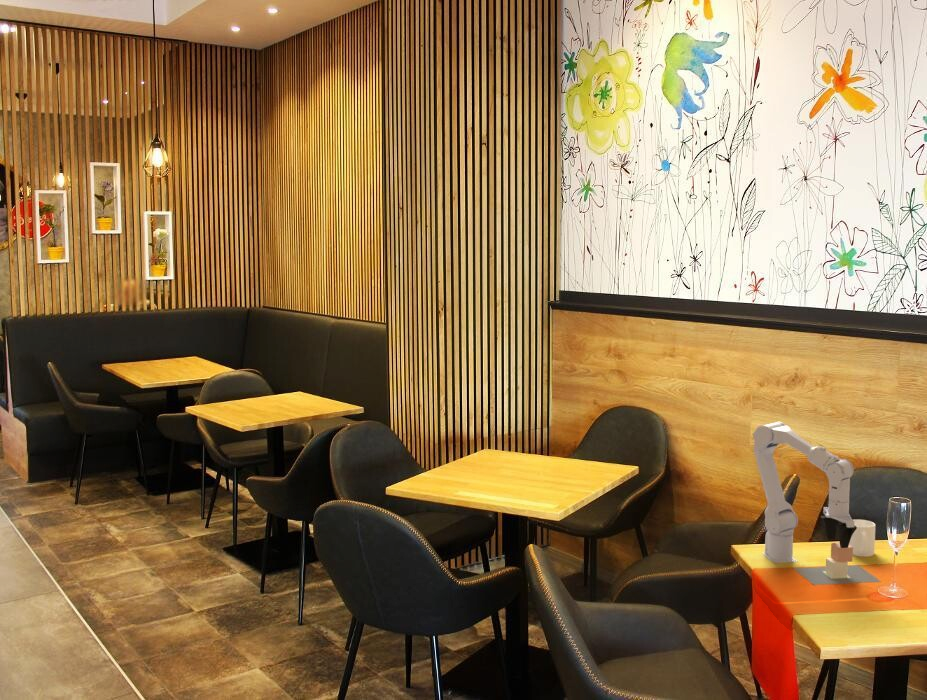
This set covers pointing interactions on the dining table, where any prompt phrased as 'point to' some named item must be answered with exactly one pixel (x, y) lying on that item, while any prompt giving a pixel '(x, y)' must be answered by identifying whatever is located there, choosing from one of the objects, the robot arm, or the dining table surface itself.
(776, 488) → the robot arm
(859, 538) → the mug
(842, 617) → the dining table surface
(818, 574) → the mat
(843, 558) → the terracotta block
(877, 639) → the dining table surface
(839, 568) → the cream block
